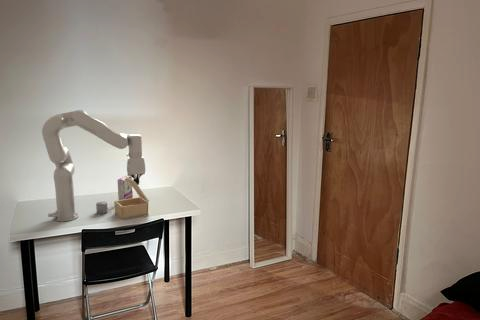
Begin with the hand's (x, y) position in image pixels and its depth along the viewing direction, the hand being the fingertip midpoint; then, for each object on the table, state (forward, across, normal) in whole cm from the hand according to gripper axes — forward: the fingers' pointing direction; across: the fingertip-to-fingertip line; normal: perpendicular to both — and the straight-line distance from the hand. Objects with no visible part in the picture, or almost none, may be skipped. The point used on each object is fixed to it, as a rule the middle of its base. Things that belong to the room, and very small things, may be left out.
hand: (136, 184), depth 225 cm
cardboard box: (+18, -4, 0) cm, 19 cm away
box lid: (+3, 0, 0) cm, 3 cm away
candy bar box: (+18, +2, +26) cm, 32 cm away
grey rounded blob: (+18, -18, +12) cm, 28 cm away
